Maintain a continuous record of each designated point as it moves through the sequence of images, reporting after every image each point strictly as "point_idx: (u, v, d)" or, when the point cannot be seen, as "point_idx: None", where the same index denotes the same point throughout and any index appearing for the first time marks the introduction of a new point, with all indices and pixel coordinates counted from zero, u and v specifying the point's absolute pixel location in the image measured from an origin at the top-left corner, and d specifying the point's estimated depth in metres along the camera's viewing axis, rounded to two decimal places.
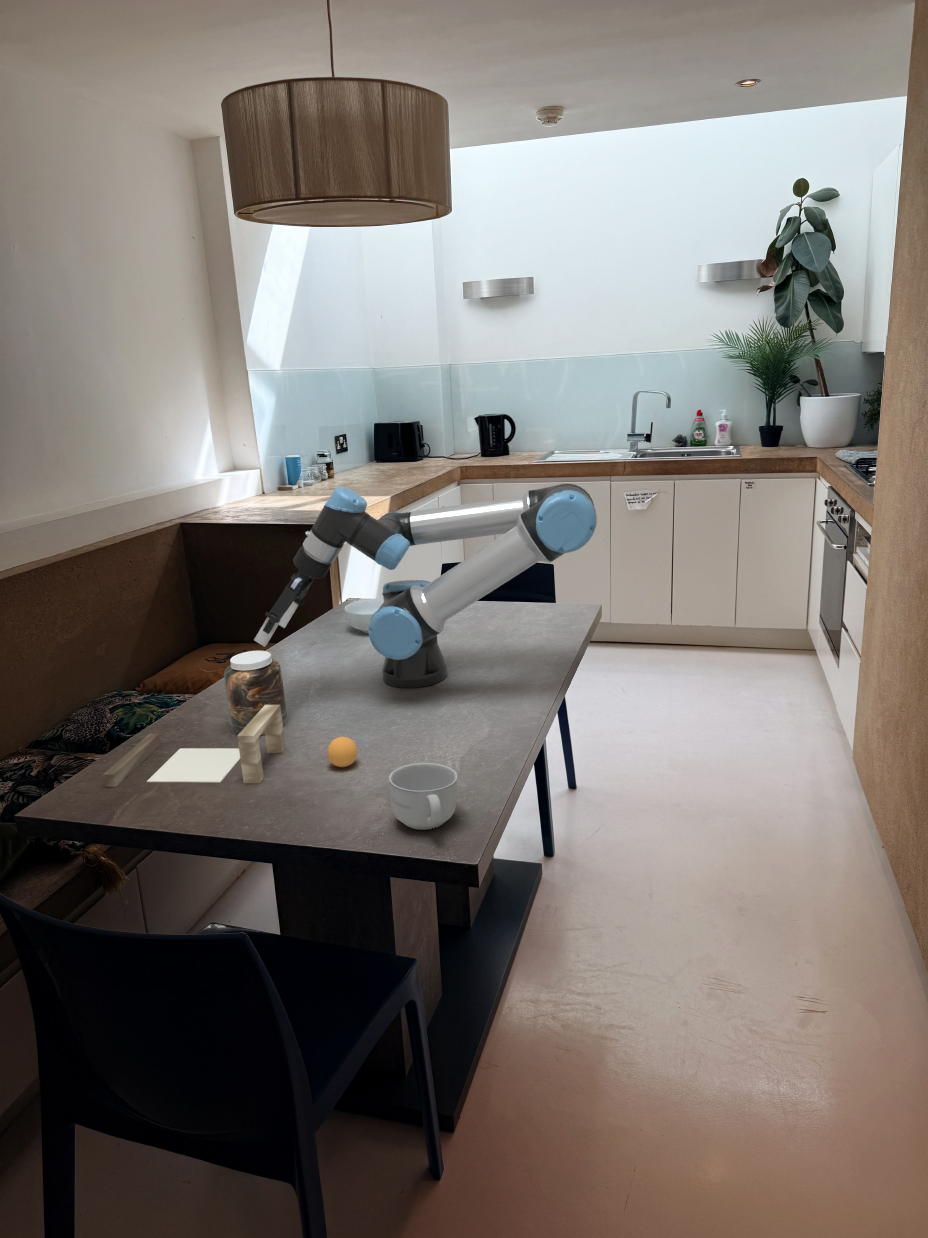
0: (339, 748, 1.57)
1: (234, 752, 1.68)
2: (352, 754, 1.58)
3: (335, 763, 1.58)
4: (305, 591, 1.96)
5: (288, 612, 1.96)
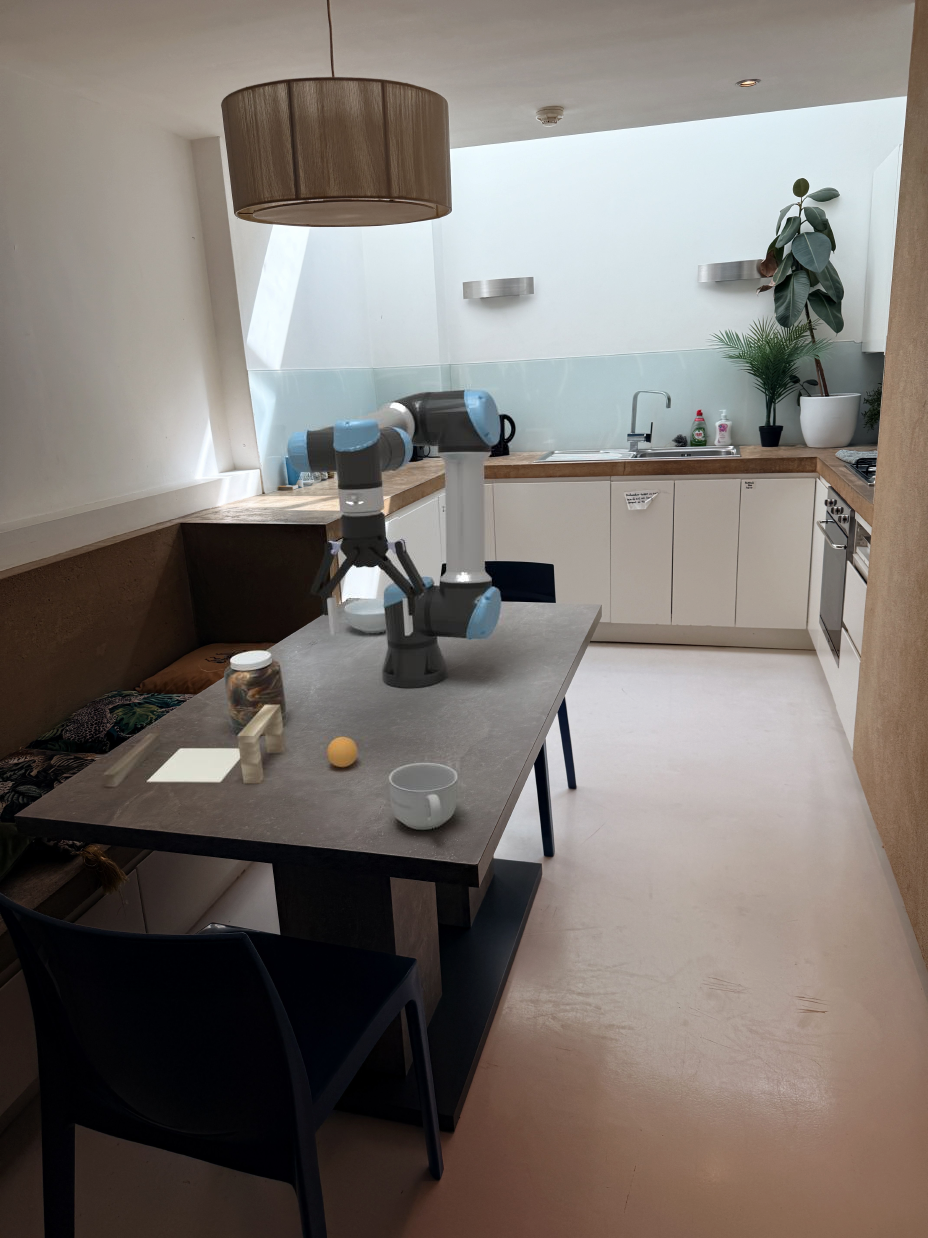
0: (339, 748, 1.57)
1: (234, 752, 1.68)
2: (352, 754, 1.58)
3: (335, 763, 1.58)
4: (325, 578, 1.53)
5: (335, 611, 1.53)
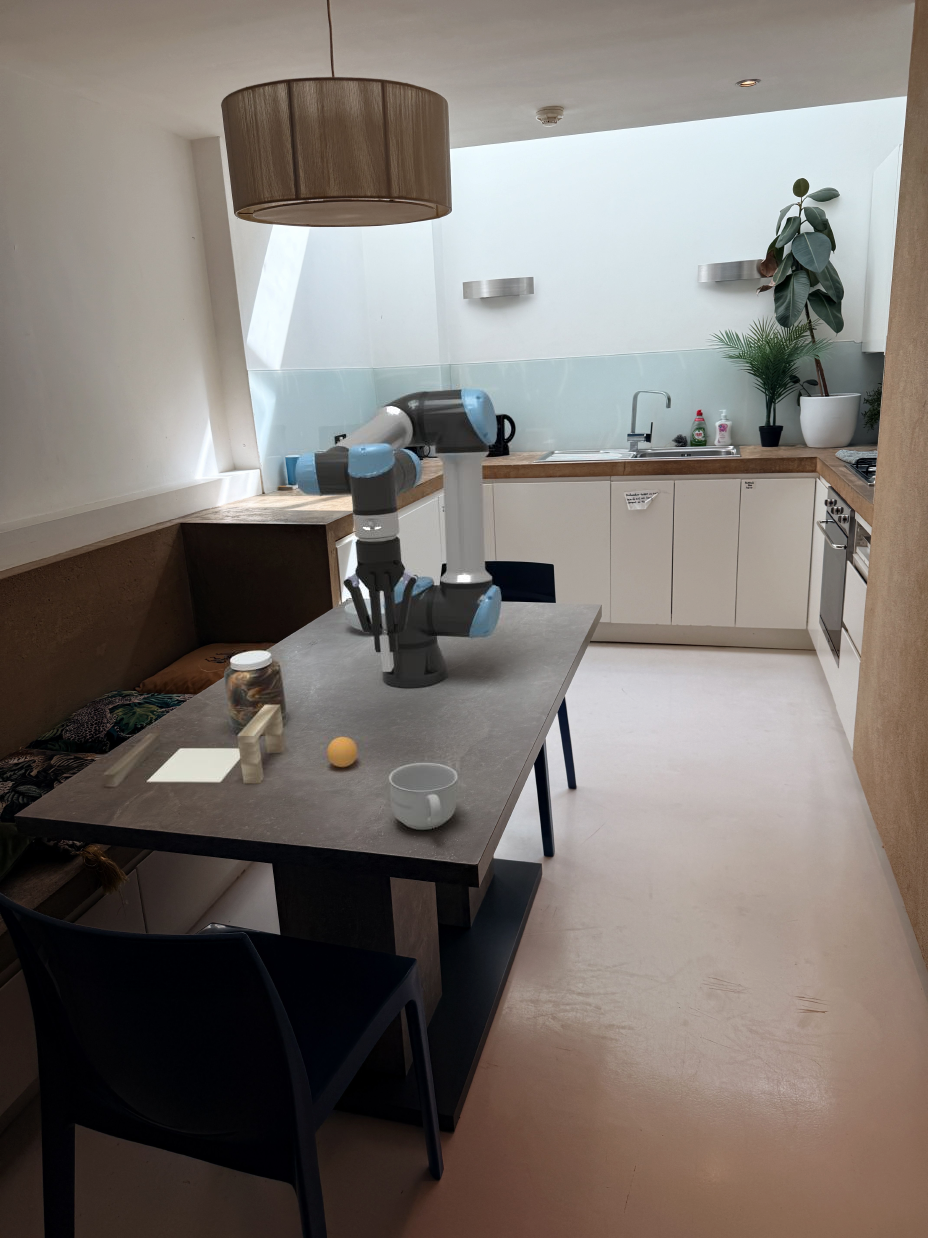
0: (339, 748, 1.57)
1: (234, 752, 1.68)
2: (352, 754, 1.58)
3: (335, 763, 1.58)
4: (367, 612, 1.52)
5: None
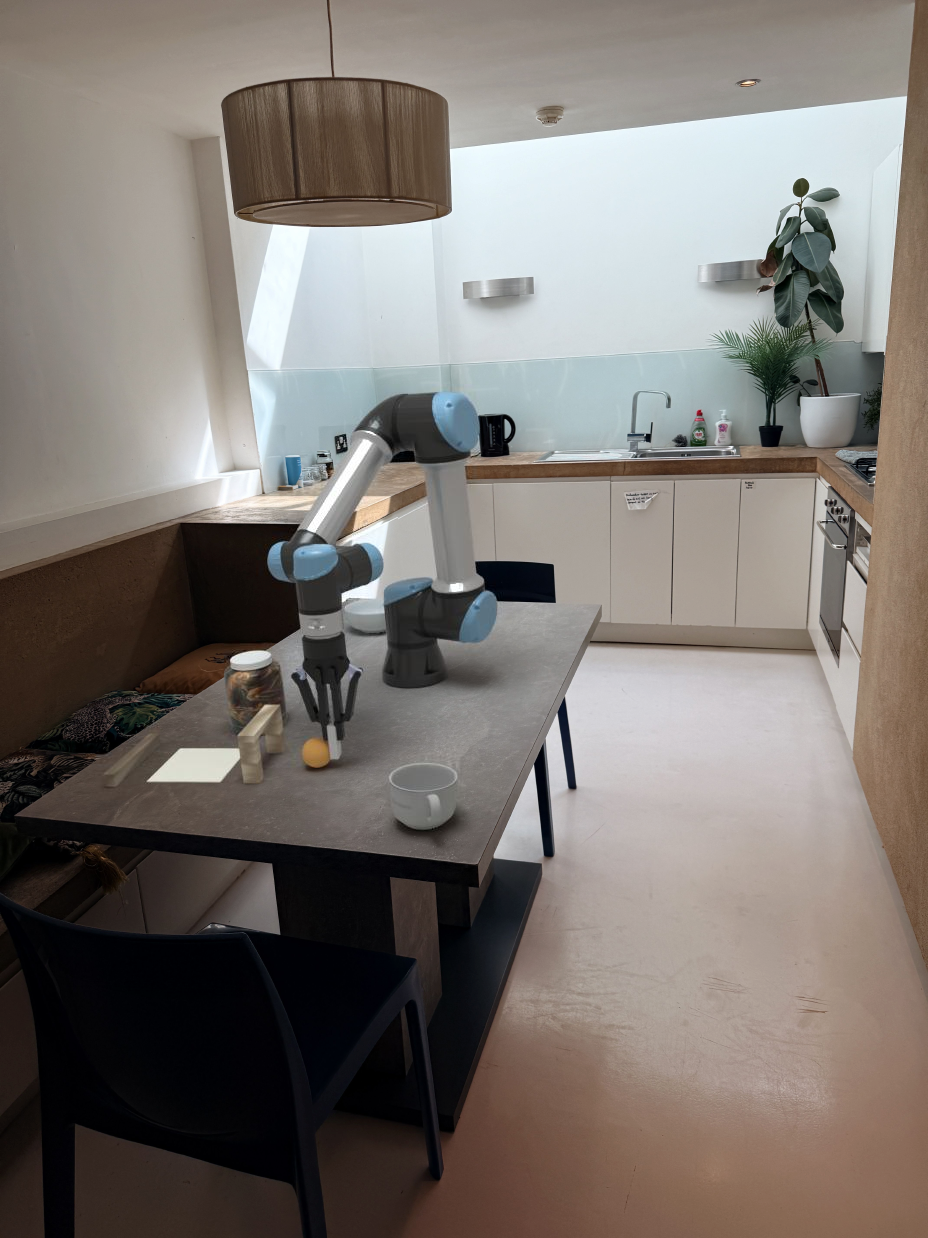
0: (305, 754, 1.58)
1: (234, 752, 1.68)
2: (317, 745, 1.58)
3: (319, 764, 1.58)
4: (315, 702, 1.58)
5: None
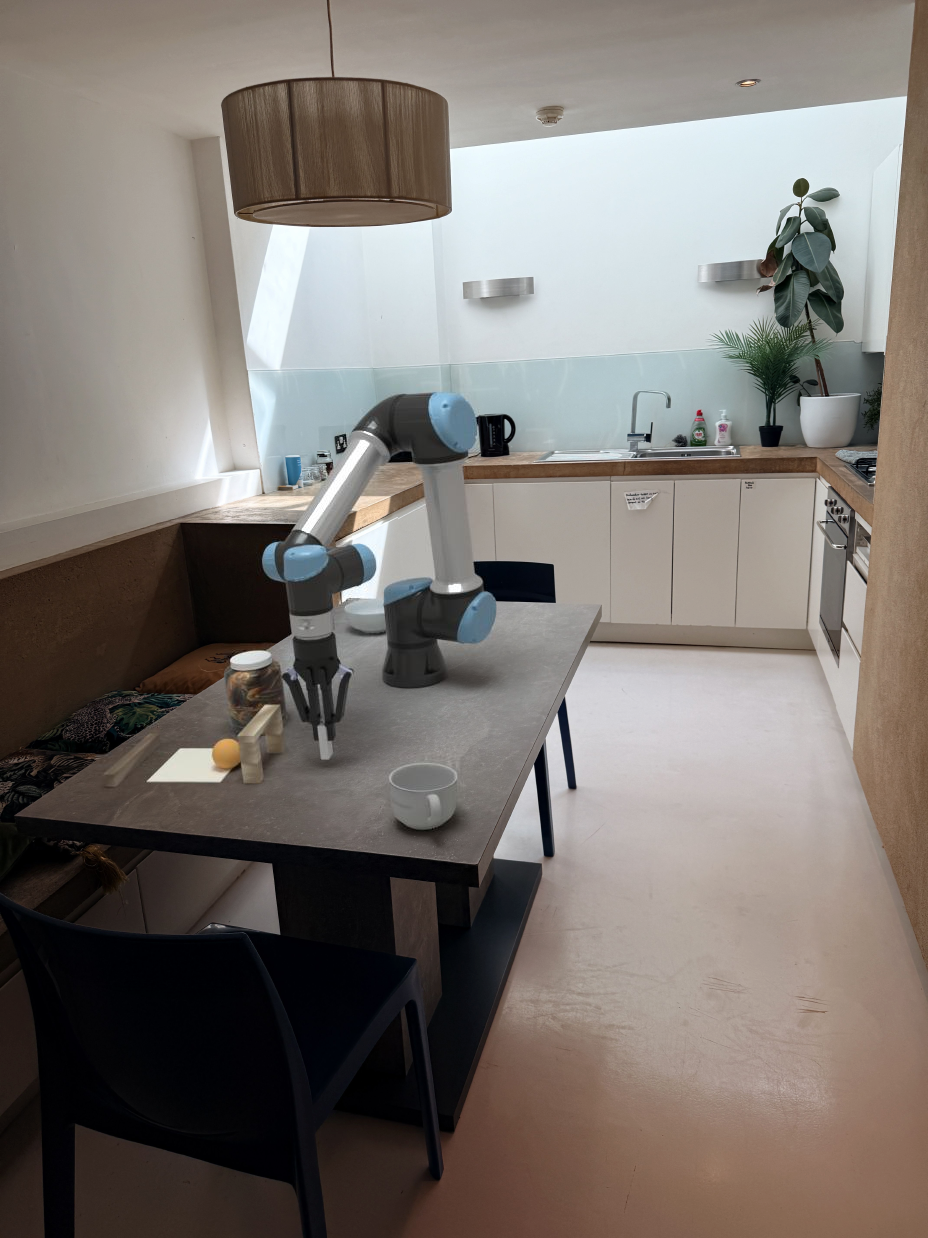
0: (214, 755, 1.59)
1: None
2: (226, 746, 1.59)
3: (228, 765, 1.60)
4: (306, 702, 1.59)
5: None
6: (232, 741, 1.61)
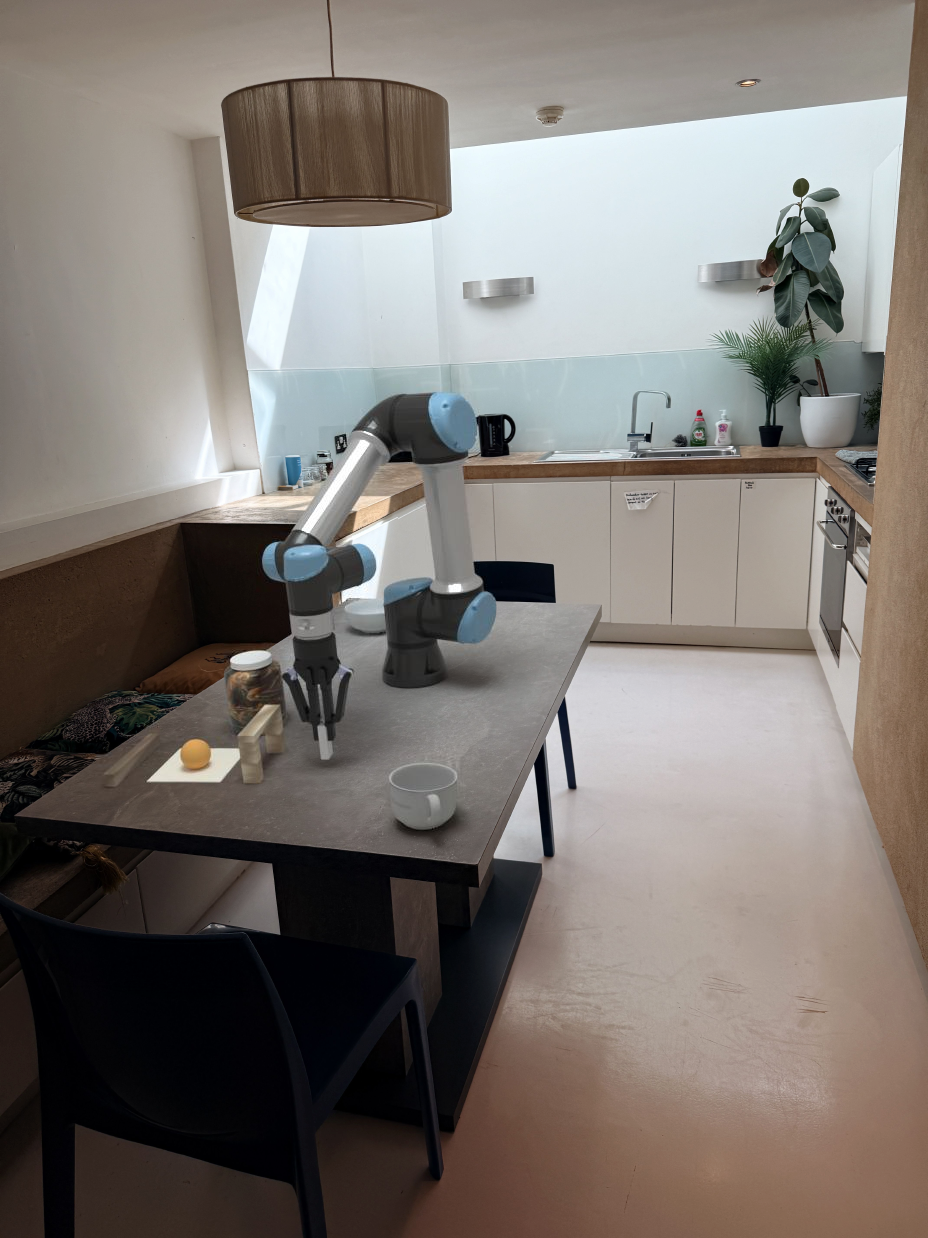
0: (193, 767, 1.61)
1: (234, 752, 1.68)
2: None
3: (192, 752, 1.60)
4: (306, 702, 1.59)
5: None
6: None
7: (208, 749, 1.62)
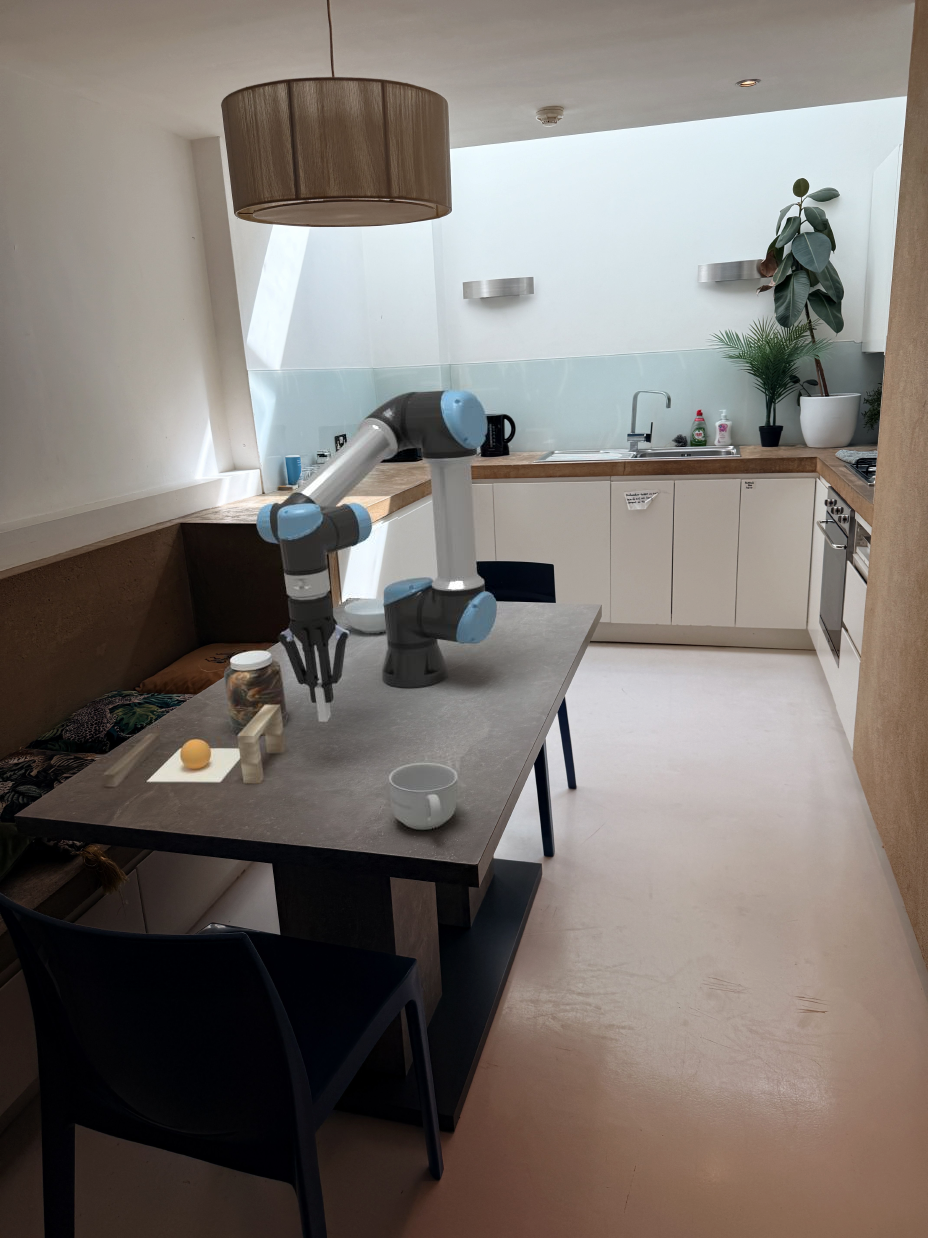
0: (193, 767, 1.61)
1: (234, 752, 1.68)
2: None
3: (192, 752, 1.60)
4: (303, 664, 1.57)
5: None
6: None
7: (208, 749, 1.62)
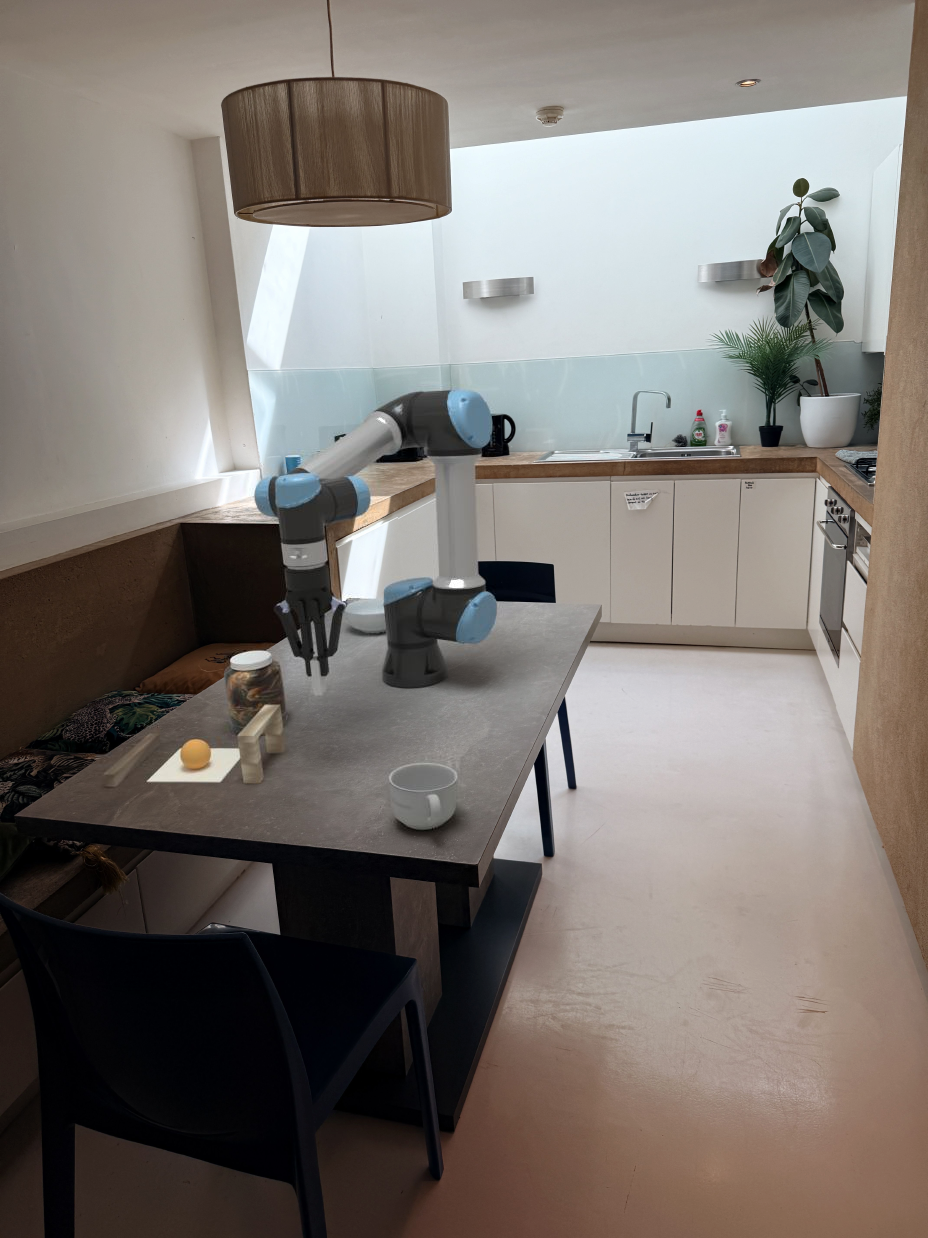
0: (193, 767, 1.61)
1: (234, 752, 1.68)
2: None
3: (192, 752, 1.60)
4: (299, 637, 1.55)
5: None
6: None
7: (208, 749, 1.62)
